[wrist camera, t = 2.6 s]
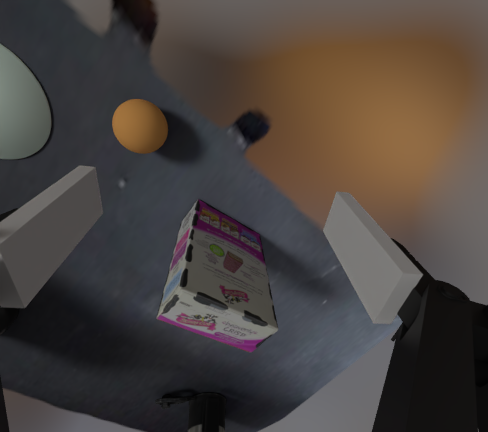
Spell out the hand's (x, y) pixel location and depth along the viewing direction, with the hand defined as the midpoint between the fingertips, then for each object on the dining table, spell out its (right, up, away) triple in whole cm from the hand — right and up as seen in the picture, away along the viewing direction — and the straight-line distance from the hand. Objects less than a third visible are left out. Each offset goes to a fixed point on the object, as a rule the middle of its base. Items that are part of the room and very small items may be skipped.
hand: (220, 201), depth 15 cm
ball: (-10, +9, +13) cm, 19 cm away
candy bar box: (-2, -3, +24) cm, 24 cm away
